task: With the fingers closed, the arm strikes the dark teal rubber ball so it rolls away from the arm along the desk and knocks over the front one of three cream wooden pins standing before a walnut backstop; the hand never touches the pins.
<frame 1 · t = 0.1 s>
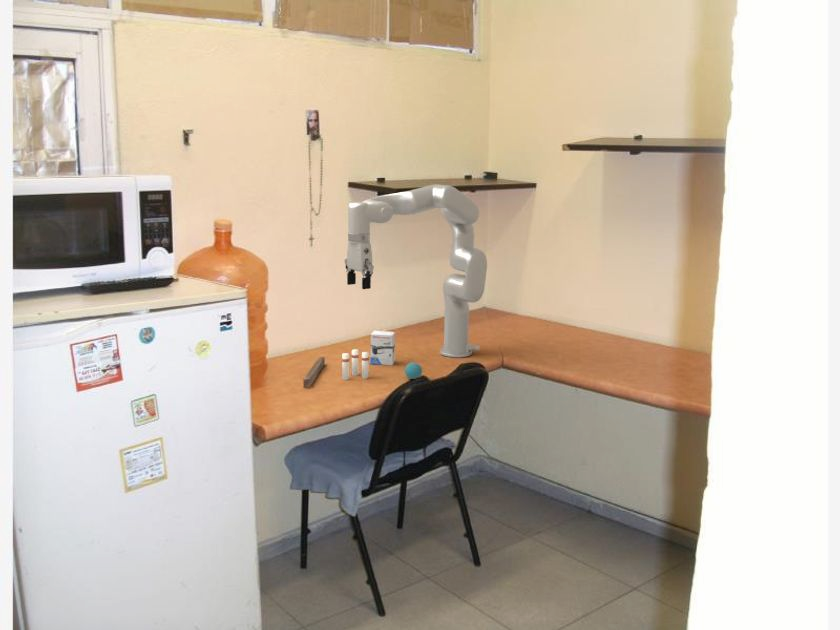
hand: (358, 286, 281), 31 cm above the table, tool pointing down, fingers open, 9 cm apart
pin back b: (345, 379, 279), on the table
pin back a: (355, 374, 285), on the table
ball: (413, 371, 280), on the table
backstop: (314, 375, 282), on the table
ink box: (382, 363, 300), on the table
pin front: (365, 377, 281), on the table
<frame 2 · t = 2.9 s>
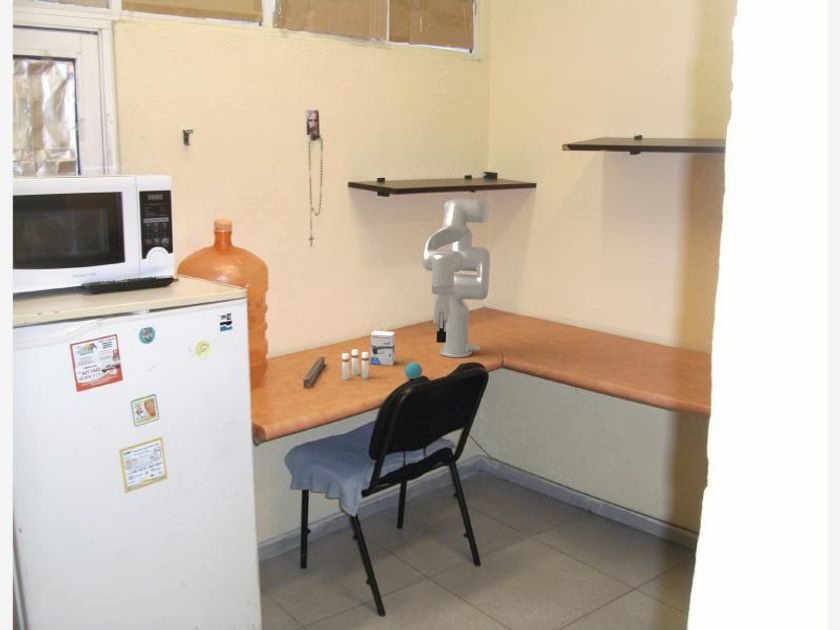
hand: (441, 342, 276), 14 cm above the table, tool pointing down, fingers closed
nothing on the table moved.
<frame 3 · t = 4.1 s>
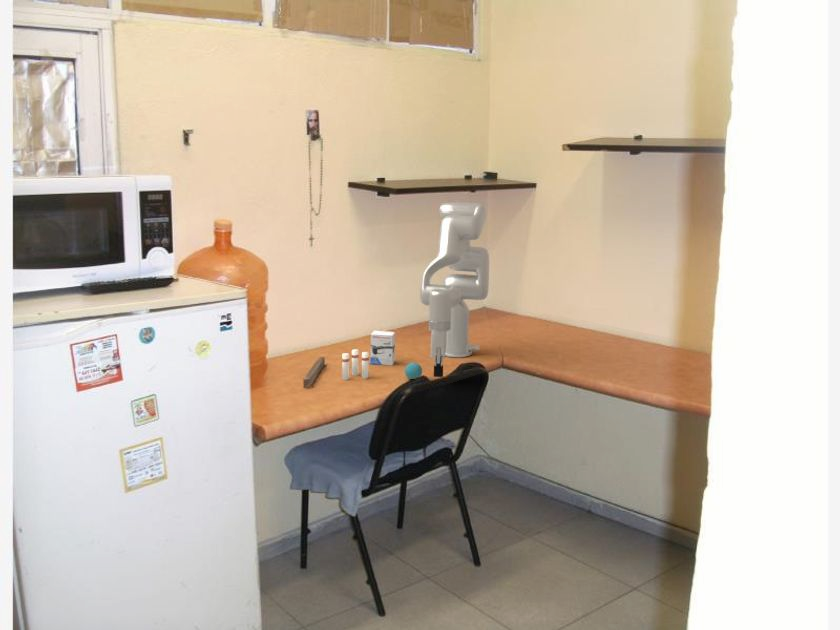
hand: (438, 376, 279), 2 cm above the table, tool pointing down, fingers closed
nothing on the table moved.
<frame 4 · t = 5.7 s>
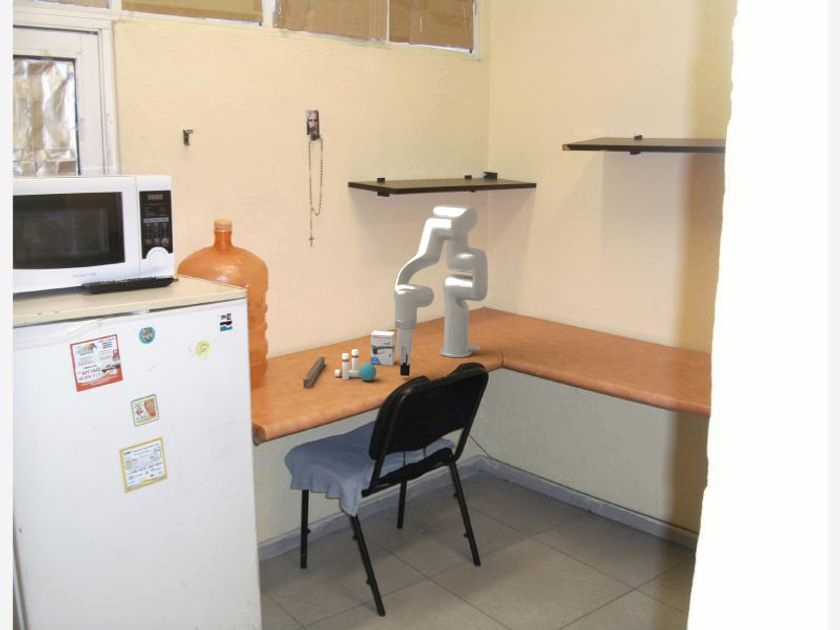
hand: (404, 375, 280), 2 cm above the table, tool pointing down, fingers closed
ball: (367, 372, 278), on the table
pin front: (360, 374, 281), point 1 cm above the table, tilted 90°
everything else where it was.
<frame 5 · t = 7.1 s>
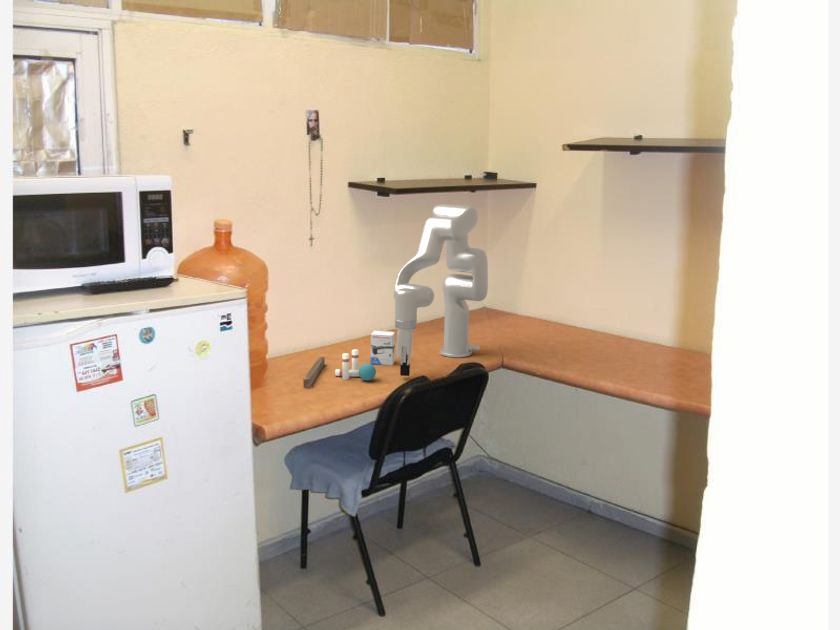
hand: (404, 375, 280), 2 cm above the table, tool pointing down, fingers closed
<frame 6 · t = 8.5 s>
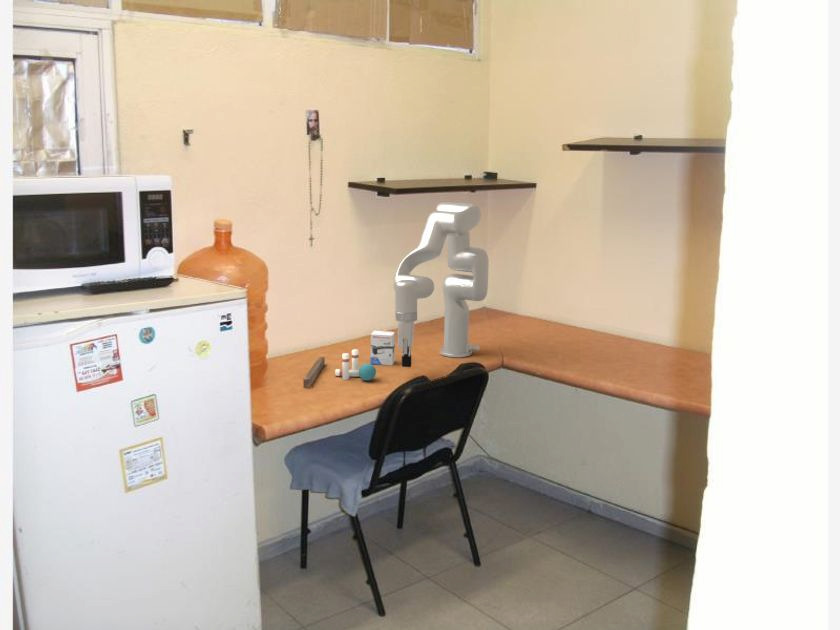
hand: (406, 366, 281), 4 cm above the table, tool pointing down, fingers closed
nothing on the table moved.
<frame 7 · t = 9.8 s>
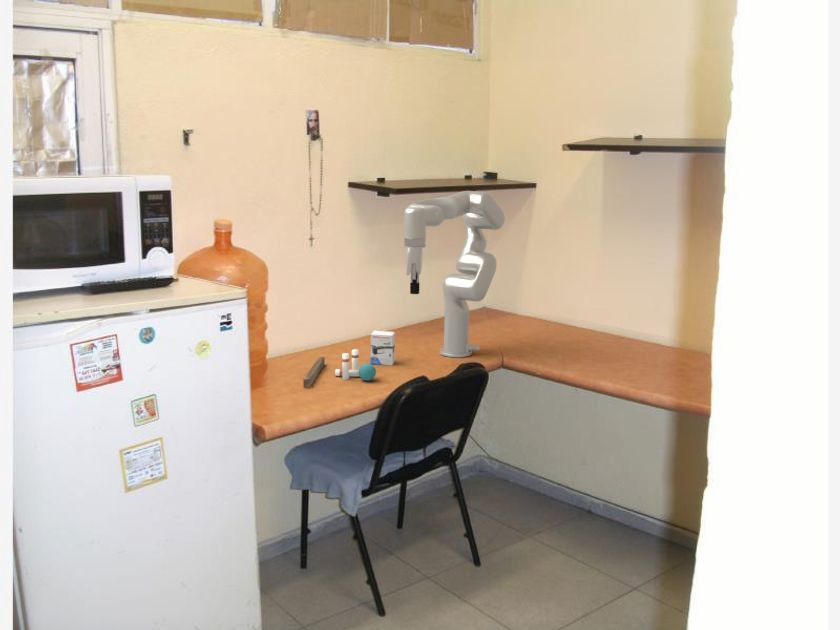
hand: (414, 293, 286), 28 cm above the table, tool pointing down, fingers closed
nothing on the table moved.
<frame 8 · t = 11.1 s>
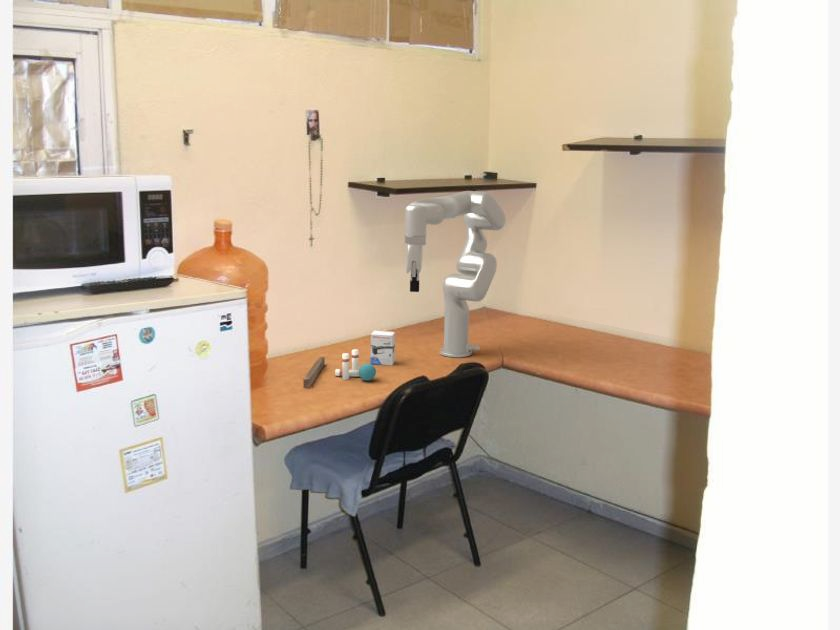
hand: (414, 291, 286), 29 cm above the table, tool pointing down, fingers closed
nothing on the table moved.
at the end: pin front tilted 90°; pin front never touched the robot; ball moved 16.1 cm from its start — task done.
